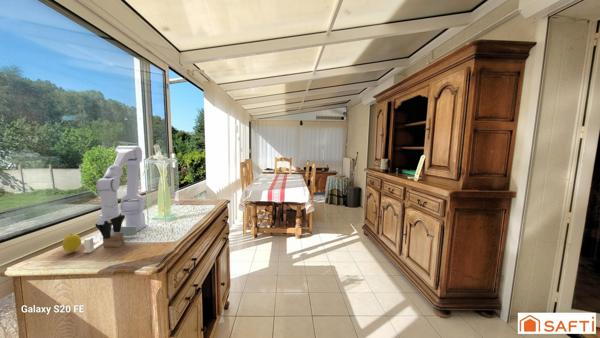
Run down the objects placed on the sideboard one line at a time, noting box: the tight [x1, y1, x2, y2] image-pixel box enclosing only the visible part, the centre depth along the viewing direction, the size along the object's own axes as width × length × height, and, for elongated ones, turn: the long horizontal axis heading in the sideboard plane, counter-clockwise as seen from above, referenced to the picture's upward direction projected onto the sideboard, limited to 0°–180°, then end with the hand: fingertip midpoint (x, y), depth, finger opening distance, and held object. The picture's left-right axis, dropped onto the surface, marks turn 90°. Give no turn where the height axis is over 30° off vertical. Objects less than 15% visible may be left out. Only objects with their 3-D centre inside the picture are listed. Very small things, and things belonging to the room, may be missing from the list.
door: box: [111, 225, 138, 237], centre depth 112 cm, size 12×2×5 cm, turn 99°
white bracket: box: [83, 225, 113, 254], centre depth 105 cm, size 18×2×5 cm, turn 11°
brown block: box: [102, 232, 125, 248], centre depth 103 cm, size 4×6×5 cm, turn 101°
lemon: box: [61, 233, 82, 253], centre depth 96 cm, size 6×6×8 cm
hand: (112, 235), depth 103 cm, fingers open, 7 cm apart
